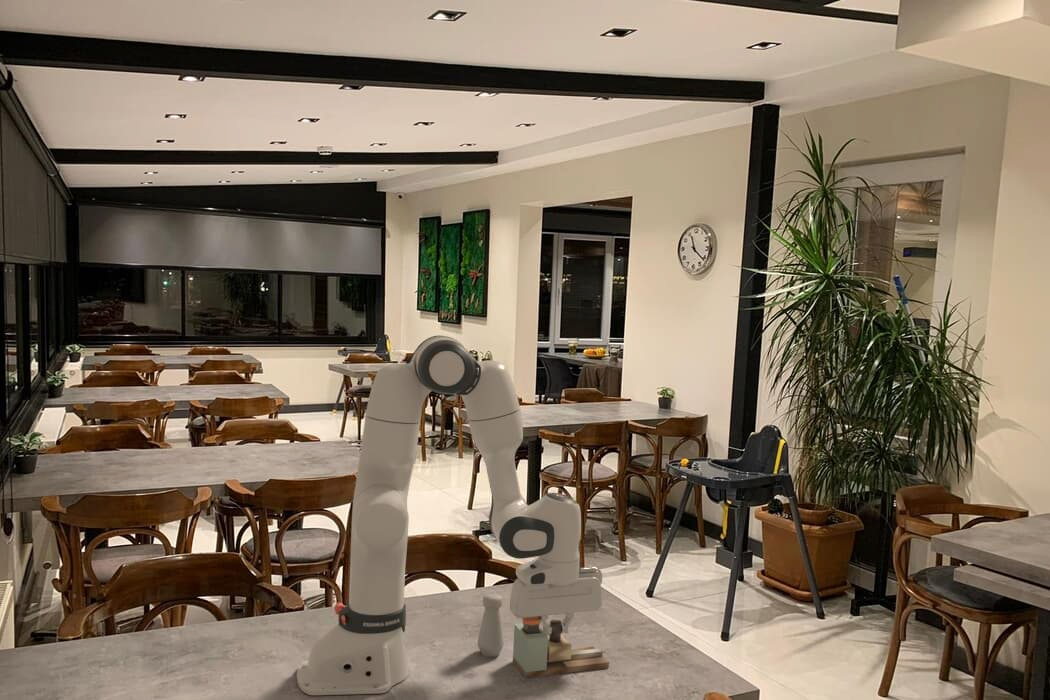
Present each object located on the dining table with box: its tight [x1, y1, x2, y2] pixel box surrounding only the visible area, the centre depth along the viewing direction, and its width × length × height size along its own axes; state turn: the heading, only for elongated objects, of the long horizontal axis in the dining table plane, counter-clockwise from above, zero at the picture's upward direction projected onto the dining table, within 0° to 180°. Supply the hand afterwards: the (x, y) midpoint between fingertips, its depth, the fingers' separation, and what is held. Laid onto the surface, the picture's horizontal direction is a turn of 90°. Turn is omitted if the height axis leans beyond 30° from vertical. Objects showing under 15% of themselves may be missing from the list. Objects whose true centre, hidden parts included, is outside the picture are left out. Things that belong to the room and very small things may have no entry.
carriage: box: [547, 619, 572, 662], centre depth 175 cm, size 5×6×7 cm
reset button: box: [522, 616, 541, 634], centre depth 173 cm, size 4×4×5 cm
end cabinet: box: [512, 622, 548, 672], centre depth 173 cm, size 5×8×7 cm, turn 20°
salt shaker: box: [477, 593, 505, 658], centre depth 179 cm, size 6×6×13 cm
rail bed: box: [512, 646, 610, 679], centre depth 176 cm, size 19×8×2 cm, turn 110°
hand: (555, 633), depth 175 cm, fingers closed on carriage, 2 cm apart
